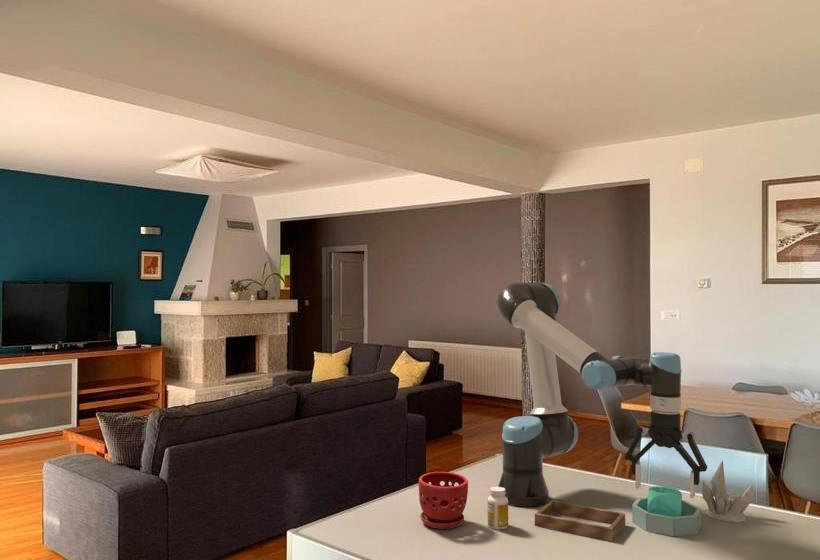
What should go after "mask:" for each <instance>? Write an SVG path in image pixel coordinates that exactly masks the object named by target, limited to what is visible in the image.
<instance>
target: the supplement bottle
mask: <svg viewBox="0 0 820 560" xmlns="http://www.w3.org/2000/svg"><path fill="white" fill-rule="evenodd" d="M505 493H506V492H505V488H503V487H498V486H492V487H490V488H489V494H490V495H489V496H488V497H487V527H489V528H491V529H494V530H504V529H508V527H509V504H508V499H507V497H505Z"/></svg>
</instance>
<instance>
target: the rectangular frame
mask: <svg viewBox="0 0 820 560" xmlns="http://www.w3.org/2000/svg"><path fill="white" fill-rule="evenodd" d="M553 514H561V515H565V516H569V517H574V518H578V519H585V520H590V521H595V522H602V523H606V524H610V525H609V526H604V525H599V524H594V523H590V522H589V523H588V522H585V521H584V522H583V521H579V520H574V519H568V518H564V517H559V516H555V515H554V516H553ZM534 526H536V527H540V528H545V529H550V530H554V531H560V532H563V533H568V534H573V535H579V536H582V537H589V538H592V539H599V540H603V541H606V542H607V541H608V542H613V541H614V540H615V538H617V536H618V535H619V534H620V533H621V531H622V530H623V528H624V527H625V526H626V513H624V512H619V511H614V510H608V509H602V508H598V507H591V506H586V505H582V504H581V505H580V504H575V503H569V502H565V501H564V502H563V501H560V500H559V501H557V500H553V499H552V500H550V501H548V502H547V503H546V504H544V506H543V507H541V508H540V509H539V510H538V511H536V512H535V513H534Z"/></svg>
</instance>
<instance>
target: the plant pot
mask: <svg viewBox="0 0 820 560" xmlns="http://www.w3.org/2000/svg"><path fill="white" fill-rule="evenodd" d="M442 482H444V483H443V484H444V485H442V484H441V483H442ZM449 483H451V485H450V484H449ZM456 483H457V484H458V485H456ZM468 491H469V480H468V478H467V477H465V476H464V475H462V474H459V473H454V472H449V471H433V472H427V473H425V474H423V475H421V476H420V477H419V478H418V497H419V505H420V507H421V510H422V512H421V513H420V514H419V515H420V517H419V518H420V520H421V522H422V523H424V524H423V525H425V526H428V527H430V528H433V529H439V530H448V529H453V528H457V527H459V526H461V525H462V524H463V523H464V520H465V515H464V514H463V513H464V511H465V509H466V505H467V500H468Z"/></svg>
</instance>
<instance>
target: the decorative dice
mask: <svg viewBox="0 0 820 560" xmlns="http://www.w3.org/2000/svg"><path fill="white" fill-rule="evenodd" d="M647 497H648V512H649V513H653V514H659V515H665V516H670V517H679V516H682V500H683V493H682V492H681V490H680V489H677V488H674V487H670V486H664V485H657V486H656V485H654V486H651V487H649V488H648V491H647Z"/></svg>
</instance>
